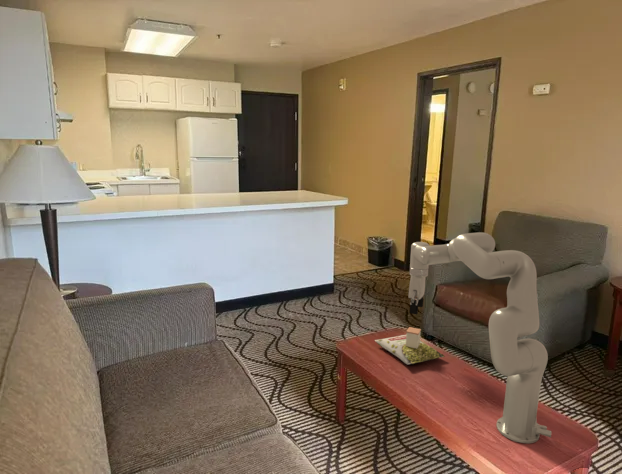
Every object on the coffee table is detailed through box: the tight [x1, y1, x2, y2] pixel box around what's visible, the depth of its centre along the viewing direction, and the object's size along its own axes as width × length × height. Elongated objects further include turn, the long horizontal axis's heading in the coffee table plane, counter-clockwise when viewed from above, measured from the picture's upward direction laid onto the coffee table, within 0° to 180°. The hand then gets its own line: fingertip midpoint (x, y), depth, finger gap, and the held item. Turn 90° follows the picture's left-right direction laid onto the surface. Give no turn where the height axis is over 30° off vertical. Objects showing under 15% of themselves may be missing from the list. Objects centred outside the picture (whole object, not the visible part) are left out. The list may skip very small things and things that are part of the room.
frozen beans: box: [374, 334, 446, 365], centre depth 189 cm, size 21×6×25 cm
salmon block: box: [405, 326, 422, 349], centre depth 185 cm, size 5×5×7 cm
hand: (416, 310), depth 181 cm, fingers open, 9 cm apart
